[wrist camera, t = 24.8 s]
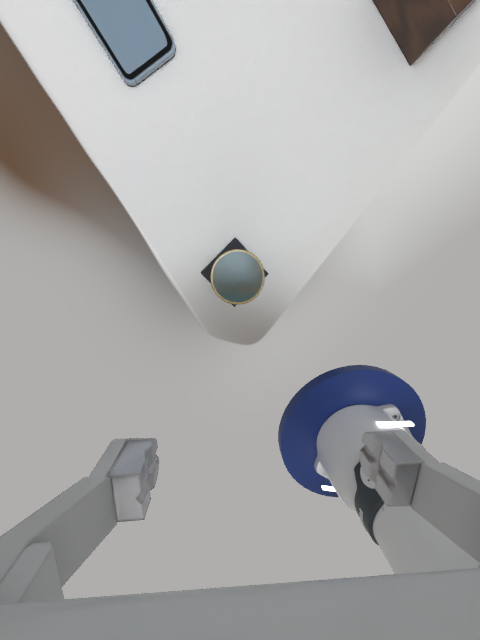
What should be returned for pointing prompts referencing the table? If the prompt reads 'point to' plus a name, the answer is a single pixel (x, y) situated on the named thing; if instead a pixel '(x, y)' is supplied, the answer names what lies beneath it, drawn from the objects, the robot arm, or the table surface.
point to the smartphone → (130, 35)
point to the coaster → (231, 246)
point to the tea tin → (237, 276)
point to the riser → (419, 21)
